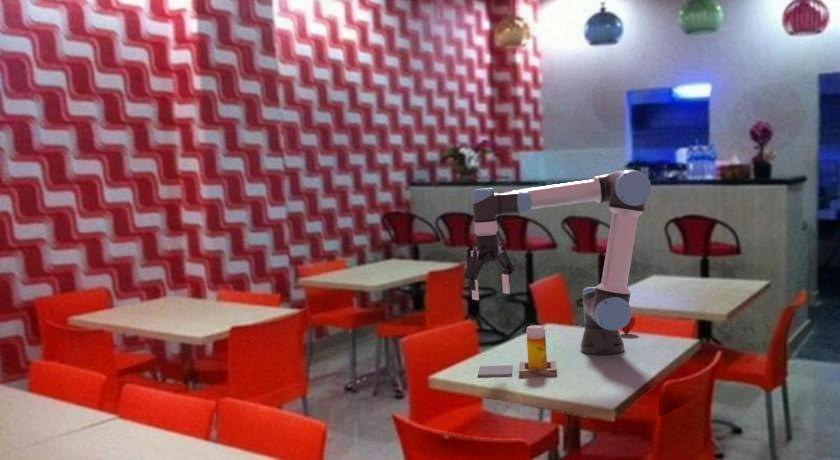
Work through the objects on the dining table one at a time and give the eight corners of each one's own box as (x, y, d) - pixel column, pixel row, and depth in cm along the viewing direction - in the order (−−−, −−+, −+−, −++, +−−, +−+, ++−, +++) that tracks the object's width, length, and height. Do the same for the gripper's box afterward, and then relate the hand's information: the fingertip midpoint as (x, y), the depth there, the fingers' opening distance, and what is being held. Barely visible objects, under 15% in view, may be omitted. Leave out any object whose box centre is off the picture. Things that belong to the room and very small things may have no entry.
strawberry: (619, 331, 306) (618, 306, 305) (638, 332, 301) (637, 307, 301) (614, 334, 301) (613, 309, 300) (633, 335, 297) (632, 310, 296)
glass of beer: (547, 374, 251) (544, 328, 250) (528, 374, 252) (525, 328, 251) (547, 369, 257) (545, 324, 256) (529, 369, 258) (526, 325, 257)
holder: (556, 366, 259) (555, 360, 259) (557, 375, 248) (556, 369, 247) (520, 367, 261) (519, 361, 261) (519, 377, 249) (519, 371, 249)
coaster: (512, 367, 262) (512, 365, 262) (511, 376, 251) (511, 373, 251) (480, 368, 264) (480, 366, 264) (477, 377, 253) (477, 374, 253)
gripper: (507, 230, 271) (511, 289, 272) (450, 238, 257) (455, 301, 258) (521, 230, 265) (526, 291, 266) (464, 238, 251) (469, 303, 252)
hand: (491, 296), depth 262 cm, fingers open, 13 cm apart
